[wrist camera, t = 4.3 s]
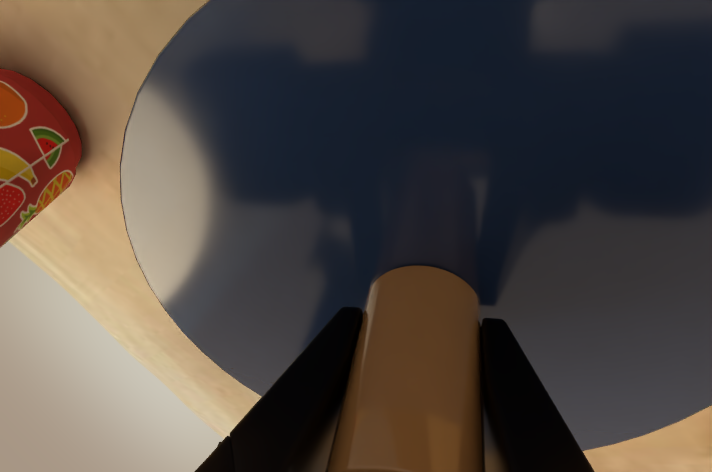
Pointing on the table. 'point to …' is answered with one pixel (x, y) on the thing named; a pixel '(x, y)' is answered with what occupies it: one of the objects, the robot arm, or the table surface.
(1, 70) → the smoothie
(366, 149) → the lid
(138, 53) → the table surface
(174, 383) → the table surface
